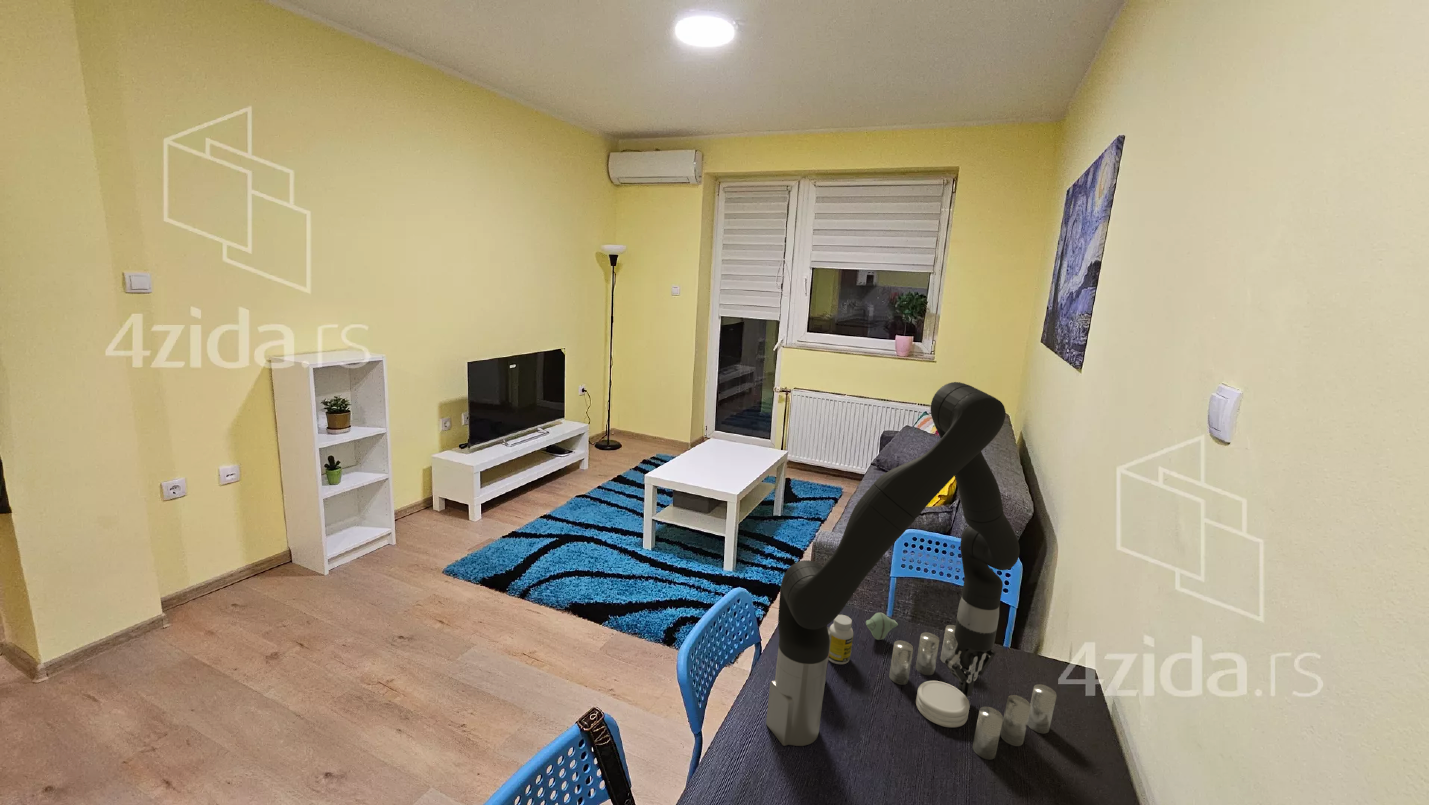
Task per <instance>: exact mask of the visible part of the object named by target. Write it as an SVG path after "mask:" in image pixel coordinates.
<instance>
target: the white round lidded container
mask: <svg viewBox="0 0 1429 805" xmlns="http://www.w3.org/2000/svg"><path fill="white" fill-rule="evenodd" d="M915 704H916V708H917V710H918V711H919V713H920V714H921V715H922V716H923V717H924V718H925V719H927V720H928V721H930V722H931V723H933V724H936V725H938V726H940V727H945V728H952V729H953V728H959V727H962V726H964V725H965V724H966V723H967V721H968V718H969V712H970V711H969V710H970V708H971V707H970V700H969V699H968V697H966V696H965V695H964V694H963V693H962V692H961V691H960V690H959V689H958V687H956V686H953V685H952V684H950V683H946V682H944V681H941V680H940V681H938V680H927V681H924V682H922V683H921V684H920V685H919V686H918V688H917V694H916V699H915Z"/></svg>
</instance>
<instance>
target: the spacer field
mask: <svg viewBox="0 0 1429 805" xmlns="http://www.w3.org/2000/svg"><path fill="white" fill-rule="evenodd" d="M955 626H956V624H948V625H946V626H945V629H944V630H945V631H944V634H943V642H942V647H941V653H940V658H939V659H940V661H941V662H942V663H943V664H944V665H946V664H945V661H946V659H948V658H949V659H950V660H952V659H953V657H954V656H955V649H956V647H957V645H958V643H957V640H956V638H955V635H954V633H955ZM939 645H940V637H938V635H936V634H934V633H931V632H928V631H927V632H922V633H921V634H920V638H919V643H918V649H917V656H916V662H915V670H916V672H918V673H920V674H922V675H924V676H932V675H934V674H935V670H936V663H937V656H938V651H939ZM913 652H914V647H913V645H912V644H911V643H909V642H908V641H906V640H896V641H894V643H893V649H892V655H891V660H890V668H889V675H888V676H889V679H890V680H891V682H893V683H894V684H896V685H906V684H908V683H909V679H910V678H909V677H910V671H911V666H912V658H913ZM1057 696H1058V695H1057V692H1056V691H1055V690H1054V689H1053V688H1051V687H1050V686H1048V685H1045V684H1040V683H1039V684H1035V685H1034V686H1033V689H1032V694H1031V699H1030V702H1029V701H1028V700H1027V699H1026V698H1025V697H1022V696H1020V695H1017V694H1011V695H1009V696H1008V697H1007V700H1006V705H1005V709H1004V715H1002V713H1001V712H1000V711H999V710H998V709H996V708H993V707H991V706H982V707H980V708H979V711H978V717H977V722H976V726H975V731H974V737H973V742H972V743H973V744H972V750H973V752H974V753H975V755H977V756H979V757H980V758H982V759H984V760H990V761H991V760H994V759H995V758H996V756H997V751H998V745H999V740H1000V737H1001V739H1002V740H1003V741H1004V742H1005V743H1007V744H1008V745H1011V746H1014V747H1020V746H1022V745H1023V744H1024V741H1025V736H1026V731H1027V726H1028V727H1029V729H1031V730H1032V731H1034V732H1035V733H1039V734H1048V733H1049V732H1050V729H1051V728H1050V727H1051V724H1052V718H1053V713H1054V709H1055V704H1056V700H1057Z"/></svg>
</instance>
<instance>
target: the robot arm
mask: <svg viewBox="0 0 1429 805" xmlns="http://www.w3.org/2000/svg"><path fill="white" fill-rule="evenodd" d="M1006 412H1007V411H1006V408H1005V405H1004V403H1003V402H1002V401H1001V400H999V399H998V398H996V397H994V396H993V395H991V394H988V393H987V392H984V391H983V390H981V389H978V388H976V387H974V386H972V385H969V384H966V383H964V382H961V381H960V382H959V381H958V382H957V381H953V382H948V383H946V384H944V385H943V386H941V387H940V388H939V389H938V390H937V391H936V392H935V393H934V395H933V396H932V399H931V402H930V416H931V418H932V421H933V422H932V423H933V424H934V427H935V429H936V432H937V434H938V436H939V438H940V439H939V440H938V441H937V442H936V443H935V444H934V445H933V446H932V447H931V448H930V449H929V450H928V451H926V452H925V453H924V454H922V455H920V456H918V457H917V458H914V459H912V460H910V461H908V462H905V463H903V464H901V465H898V466H896V467H893V468H892V469H889V470H887V472H885V473H883V474H882V475H881V476H879V477H878V478H877V479H876V480H875V481H874V482H873V484H872V485H870V487H869V488H868V489H867V490H866V491H865V493H864V494H863V495H862V496H861V497H860V498H859V499H858V502H856V504H855V506H854V508H853V510H852V512H851V513H850V516H849V519H848V521H847V523H846V526H845V529H844V532H843V534H842V538H841V539H840V542H839V544H838V546H837V548H836V550H835V551H834V553H832V555H831V557H830V558H829V559H828V560H827V561H826V562H825V564H824V565H823V566H822V564H820V563H818V562H816V561H813V560H807V559H806V560H800V561H797V562H795V563H793V564H792V565H791V566H790V567H788V569H787V570H786V571H785V573H784V575H783V577H782V580H781V583H780V591H779V602H778V616H777V617H778V619H777V626H778V636H779V637H778V648H777V657H776V667H775V677H774V680H770V684H769V693H768V702H767V712H766V714H767V715H766V721H765V722H766V724H765V725H766V726H767V728H768V729H770V731H771V732H772V733H773V735H774V736H775V738H777V741H779V742H780V743H781V745H782V746H784V747H785V746H788V745H789V746H796V747H803V746H807V745H810V744H813V743H814V742H815V741H816V740H817V739H818V736H819V732H820V724H821V717H822V716H821V715H822V709H823V701H824V692H825V686H826V685H825V684H826V682H825V678H826V679H827V676H826V670H827V671H828V668H827V663H828V664H829V660H828V655H829V646H830V639H829V633H828V628H829V627H828V625H830V624H832V622H834V619H835V618H836V617H837V616H838V615H840V613H841V612H842V611H843V609H844V608H845V607H846V605H847V604H848V602H849V601H850V599H851V598H852V597H853V595H854V594H855V593H856V591H857V589H858V588H859V587H860V585H861V584H862V582H863V581H864V580H865V578H866V577H867V576H868V574H869V573H870V572H871V571H872V569H874V567H875V566H876V565H877V564H878V563H879V562H880V560H881V559H882V558H883V557H884V556H885V554H887V552H888V551H889V549H890V548H891V547H892V546H893V545H894V544H895V543H896V541H898V539H899V538H901V536H902V535H903V534H904V533H905V532H906V531H907V530H908V529H909V527H911V525H912V524H913V523H915V521H916V519H918V518H919V516H920V515H921V513H922V512H923V511H924V510H925V509H926V507H927V506H928V505H929V504H930V503H931V501H933V499H934V498H935V497H937V495H938V494H939V493H940V492H941V491H942V490H943V489H944V488H945V487H946V485H947V484H948V483H949V482H951V480H952V479H953V478H955V481H956V482H955V483H956V485H957V489H958V493H959V498H960V503H961V508H962V513H963V518H964V520H965V522H966V524H967V527H966V528H965V529H964V530H963V532H962V535H961V536H960V537H961V538H960V554H961V555H960V556H961V561H962V563H961V564H962V569H963V576H964V578H963V585H962V586H963V587H962V591H961V592H962V593H961V596H960V597H961V598H960V600H959V604H958V609H957V614H956V615H957V616H956V622H955V633H954V635H955V638H956V640H957V643H958V645H957V647H956V649H955V656H954V657H953V659H952V660H950V659H949V658H948V659H946V661H945V664H944V665H946V667H947V669H948V670H949V671H950V673H951V675H952V676H953V677H954V678H956V679H957V680H958V686H957V689H959V690H960V691H961V692H962V693H963V694H964V695H965V696H966V697H967V698H969V697H971V696H973V695H972V694H973V689H974V686H975V681H976V680H977V679H978V676H979V677H982V676H983V675H984V673H985V672H986V670H987V668H988V667H989V666H990V664H991V662H992V661H993V659H994V658H995V656H996V653H997V652H996V651H995V650H994V649H993V648H994V646H995V642H996V635H997V630H998V624H999V618H1000V604H1001V599H1002V595H1003V594H1002V592H1003V588H1004V586H1003V585H1004V584H1003V581H1002V580H1003V579H1002V578H1001V577H1000V576H999V575H998V574H997V573H995V571H993V570H992V568H993V569H994V570H997V571H1006V570H1007V571H1008V570H1009V569H1011V568H1013V567H1014V566H1015V565H1016V564H1017V562H1018V560H1019V558H1020V544H1019V540H1018V538H1017V535H1016V533H1015V531H1014V529H1013V527H1012V525H1011V523H1010V521H1009V519H1008V517H1007V516H1006V514H1005V513H1004V507H1003V500H1002V496H1001V495H1002V494H1001V490H1000V487H999V484H998V481H997V480H996V476H995V475H994V473H993V471H992V470H991V468H990V466H989V464H988V462H987V460H986V458H985V456H984V454H983V452H982V451H983V450H984V449H985V448H986V447H987V446H988V445H989V444H990V443H991V442H992V441H994V439H995V438H996V437H997V435H998V434H999V432H1000V431H1001V430H1002V428H1003V425H1004V423H1005V420H1006ZM827 627H828V628H827Z"/></svg>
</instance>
